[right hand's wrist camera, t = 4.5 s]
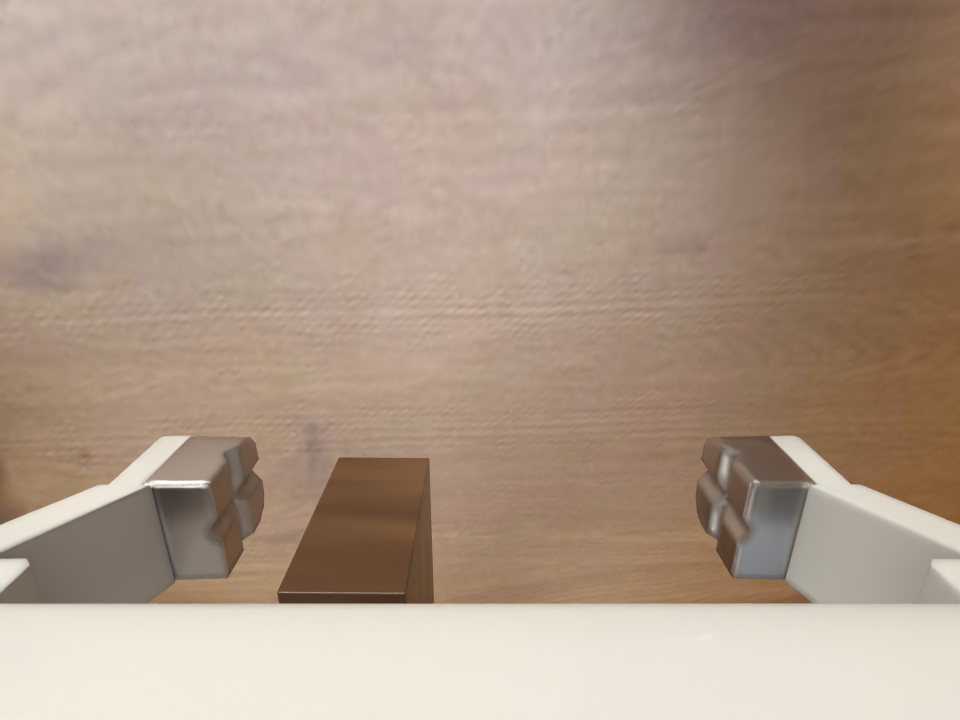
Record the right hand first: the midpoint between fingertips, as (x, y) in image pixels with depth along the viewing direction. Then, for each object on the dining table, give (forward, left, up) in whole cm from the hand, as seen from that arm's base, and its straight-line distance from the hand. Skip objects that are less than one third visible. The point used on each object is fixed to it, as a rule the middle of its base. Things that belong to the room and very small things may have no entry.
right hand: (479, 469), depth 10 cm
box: (+17, +17, -23) cm, 33 cm away
